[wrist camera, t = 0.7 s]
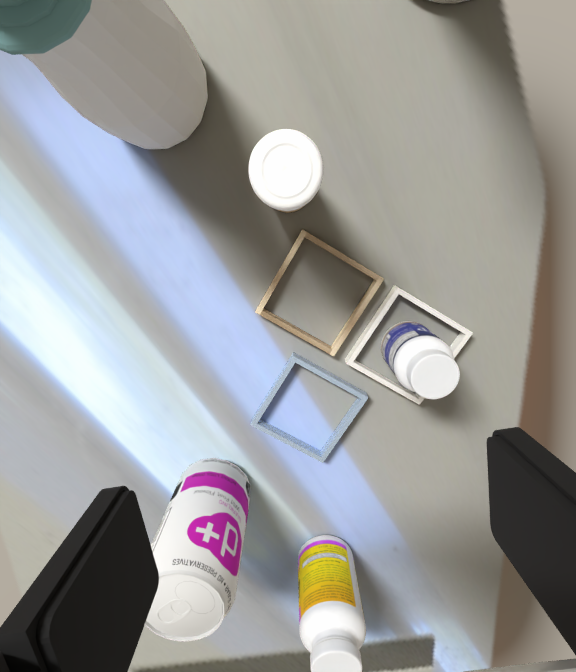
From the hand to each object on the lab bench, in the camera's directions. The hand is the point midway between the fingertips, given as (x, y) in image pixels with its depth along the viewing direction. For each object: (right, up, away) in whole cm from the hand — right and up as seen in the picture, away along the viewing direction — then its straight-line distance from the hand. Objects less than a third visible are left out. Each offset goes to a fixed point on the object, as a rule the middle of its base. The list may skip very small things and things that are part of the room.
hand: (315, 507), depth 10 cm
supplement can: (-9, -13, +35) cm, 38 cm away
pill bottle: (+11, +4, +30) cm, 33 cm away
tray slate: (+2, -3, +32) cm, 32 cm away
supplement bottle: (+4, -22, +38) cm, 44 cm away
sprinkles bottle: (-1, +18, +26) cm, 32 cm away
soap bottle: (-12, +26, +24) cm, 37 cm away
